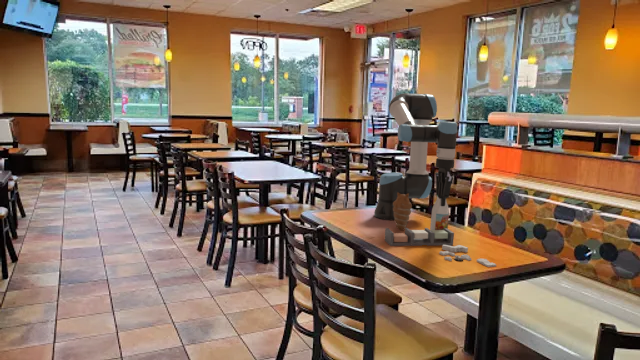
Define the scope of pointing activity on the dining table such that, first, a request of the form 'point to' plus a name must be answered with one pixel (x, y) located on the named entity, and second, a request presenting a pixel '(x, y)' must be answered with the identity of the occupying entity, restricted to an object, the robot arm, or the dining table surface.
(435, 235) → the sage key
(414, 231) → the cream key
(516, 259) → the dining table surface
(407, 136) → the robot arm
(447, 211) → the milk bottle
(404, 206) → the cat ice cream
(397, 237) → the brown flat block
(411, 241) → the keypad
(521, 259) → the dining table surface
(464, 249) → the white puzzle pieces
